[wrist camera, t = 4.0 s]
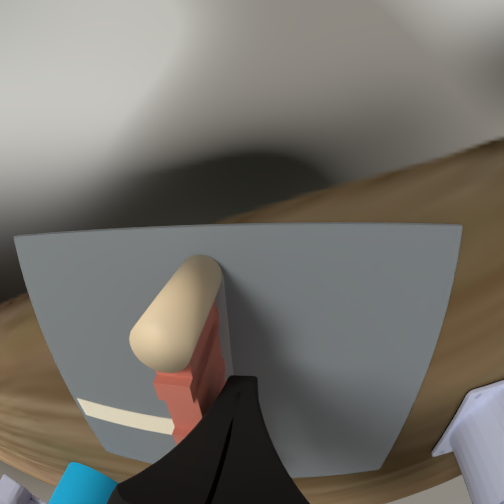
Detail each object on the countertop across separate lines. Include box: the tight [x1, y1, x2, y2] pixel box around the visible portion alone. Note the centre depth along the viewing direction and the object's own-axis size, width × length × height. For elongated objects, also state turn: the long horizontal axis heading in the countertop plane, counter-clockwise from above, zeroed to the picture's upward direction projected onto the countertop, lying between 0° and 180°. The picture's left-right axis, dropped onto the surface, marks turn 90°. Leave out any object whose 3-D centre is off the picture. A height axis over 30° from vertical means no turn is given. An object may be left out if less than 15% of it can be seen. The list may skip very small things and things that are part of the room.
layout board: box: [14, 222, 463, 478], centre depth 15 cm, size 23×20×1 cm
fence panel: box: [129, 255, 226, 445], centre depth 11 cm, size 10×2×5 cm, turn 2°
